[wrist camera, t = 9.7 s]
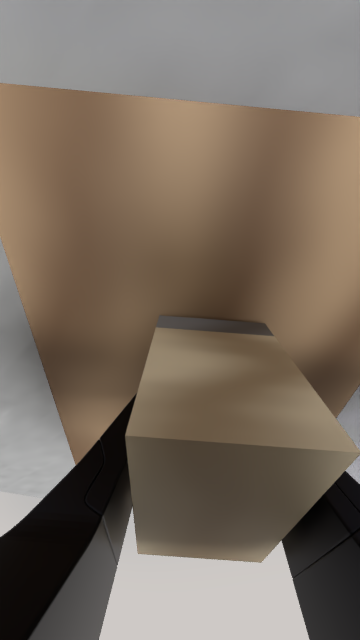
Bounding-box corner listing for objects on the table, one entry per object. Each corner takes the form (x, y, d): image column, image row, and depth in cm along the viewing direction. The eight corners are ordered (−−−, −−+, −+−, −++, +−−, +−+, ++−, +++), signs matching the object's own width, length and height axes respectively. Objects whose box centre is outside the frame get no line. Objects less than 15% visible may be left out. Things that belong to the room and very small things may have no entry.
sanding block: (264, 323, 8) (361, 452, 4) (231, 427, 11) (261, 562, 7) (159, 315, 8) (124, 435, 4) (157, 422, 11) (138, 553, 7)
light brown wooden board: (478, 148, 6) (539, 133, 5) (274, 479, 17) (280, 497, 15) (-12, 102, 6) (-54, 77, 5) (88, 465, 16) (81, 482, 15)
